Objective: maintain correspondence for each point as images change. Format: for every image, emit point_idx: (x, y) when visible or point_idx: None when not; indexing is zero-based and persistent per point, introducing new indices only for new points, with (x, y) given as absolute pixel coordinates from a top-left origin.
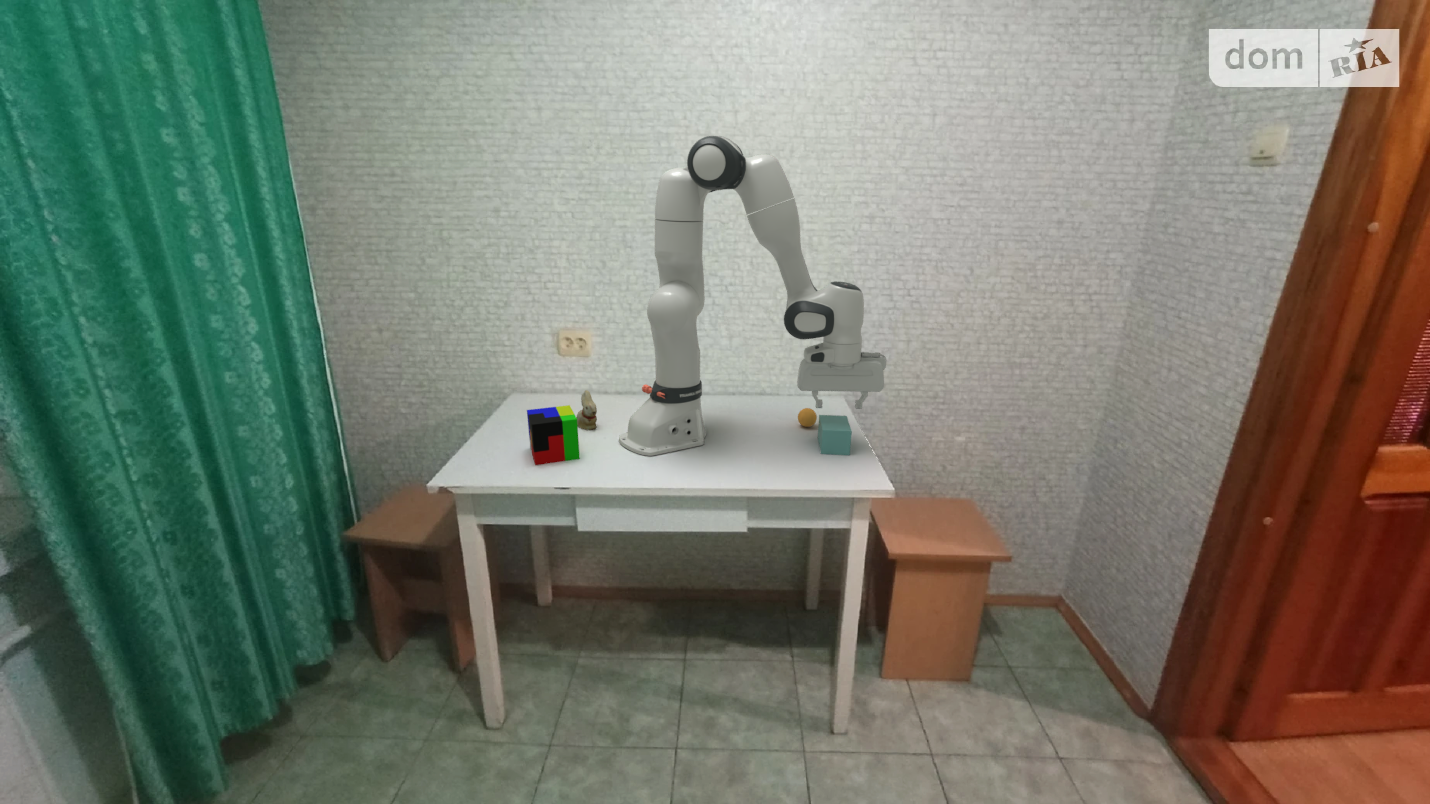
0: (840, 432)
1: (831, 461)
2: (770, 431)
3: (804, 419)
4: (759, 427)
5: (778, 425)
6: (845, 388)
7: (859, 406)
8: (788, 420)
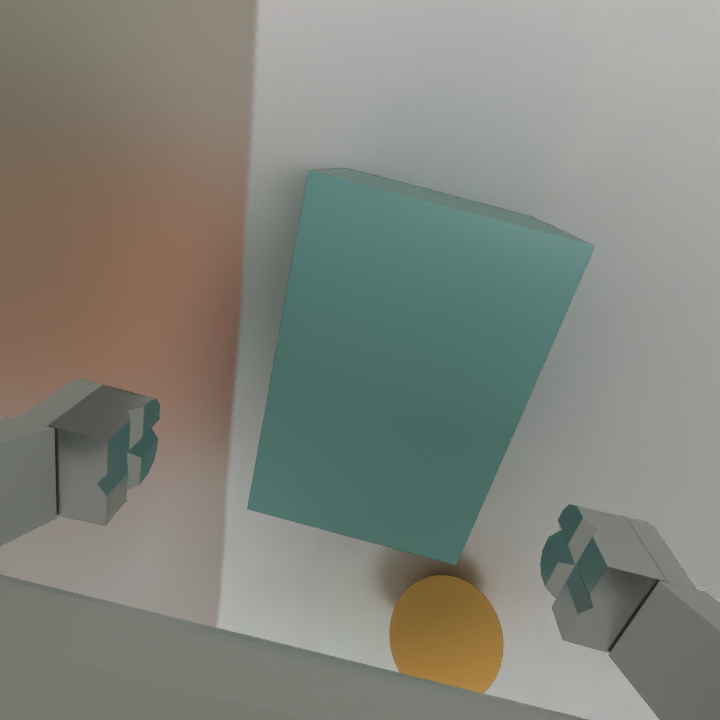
0: (417, 198)
1: (515, 75)
2: None
3: (482, 611)
4: None
5: None
6: (202, 708)
7: (97, 398)
8: (505, 663)
